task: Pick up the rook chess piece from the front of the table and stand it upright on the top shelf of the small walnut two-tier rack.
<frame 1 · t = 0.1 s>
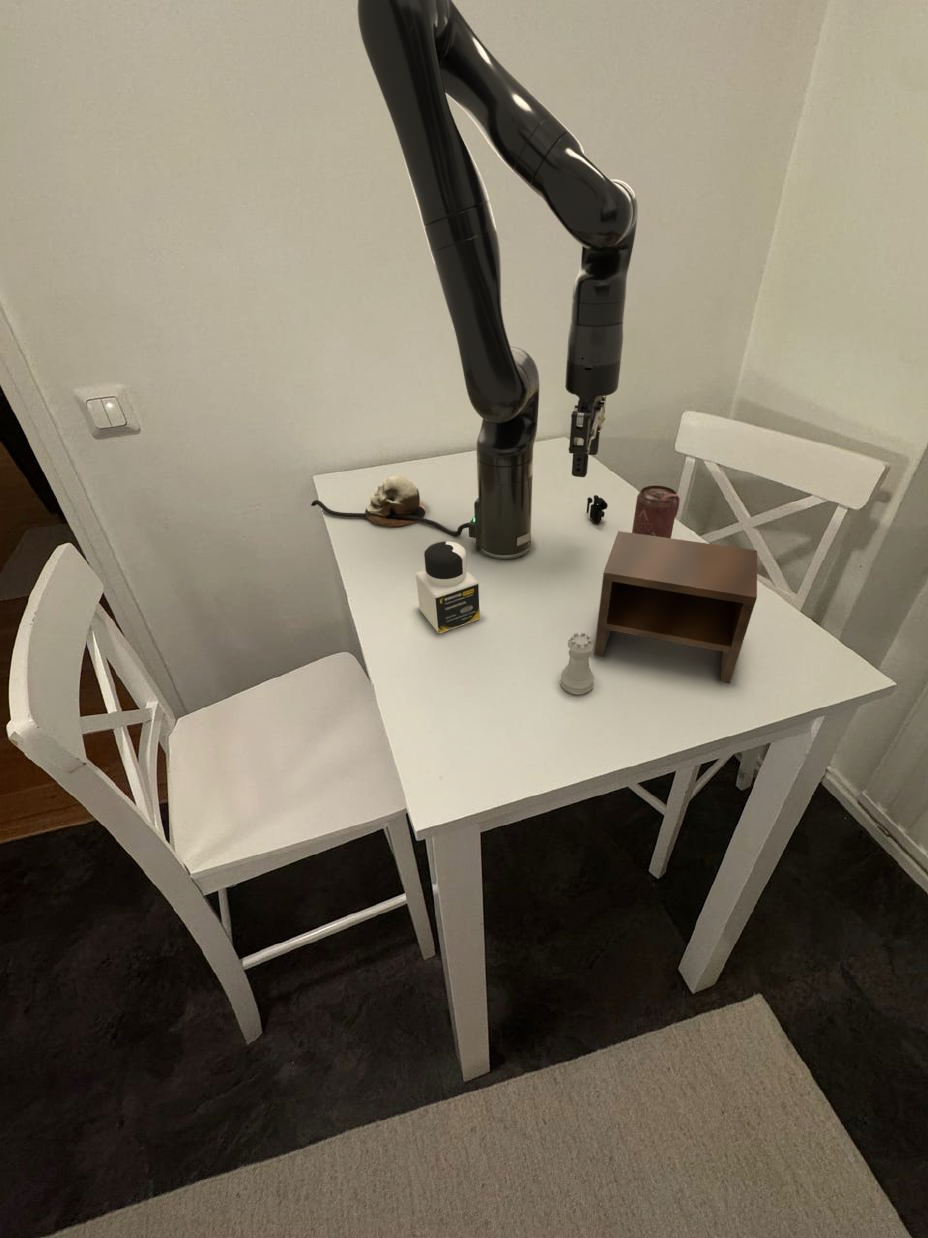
hand: (585, 464, 95), 17 cm above the table, tool pointing down, fingers open, 8 cm apart
wireless earbuds: (597, 521, 115), on the table
skull: (395, 514, 121), on the table
medicine bottle: (449, 616, 94), on the table
shelf: (664, 644, 86), on the table
can: (646, 569, 102), on the table
rook chess piece: (576, 685, 81), on the table
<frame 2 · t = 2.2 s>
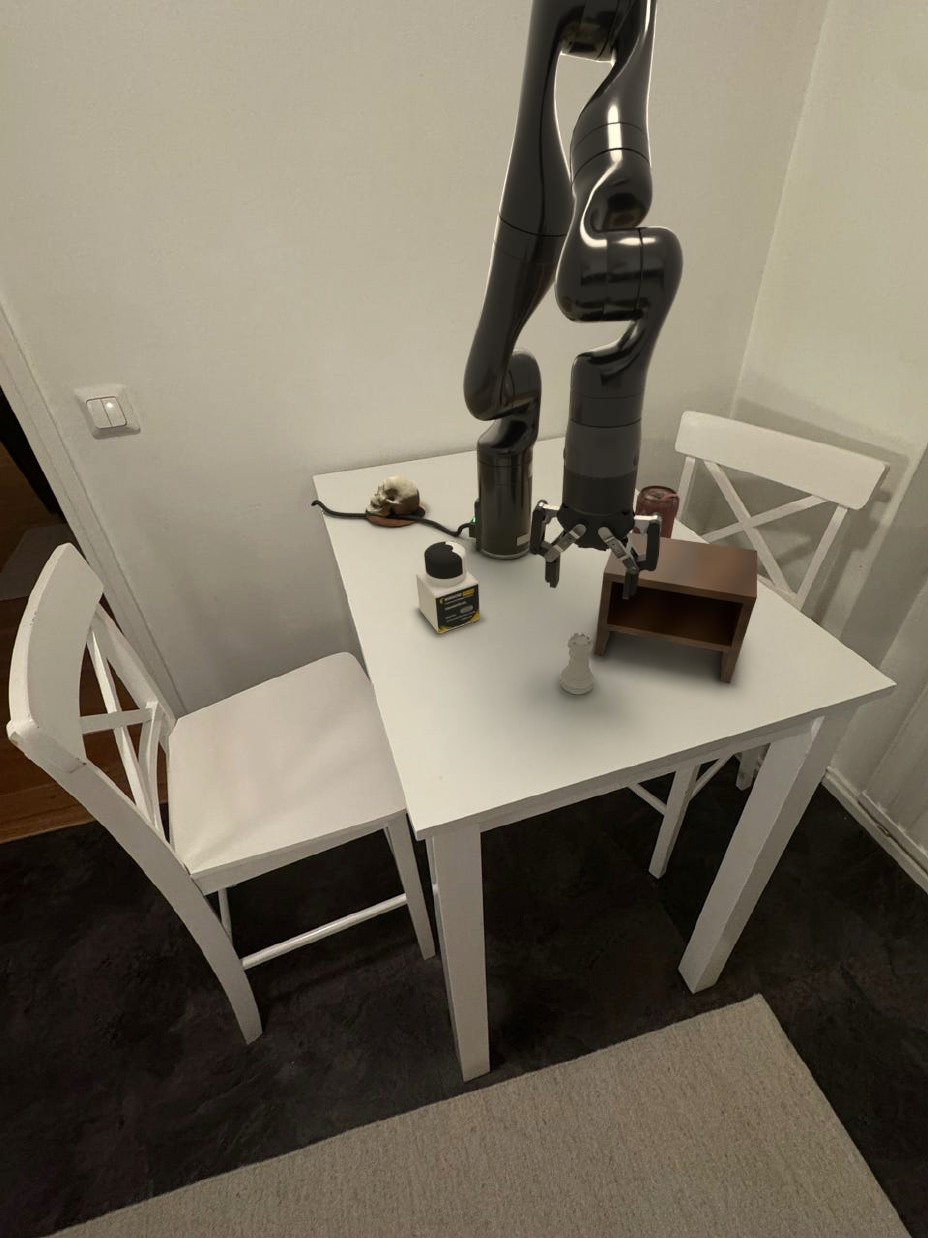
hand: (589, 589, 72), 15 cm above the table, tool pointing down, fingers open, 8 cm apart
nothing on the table moved.
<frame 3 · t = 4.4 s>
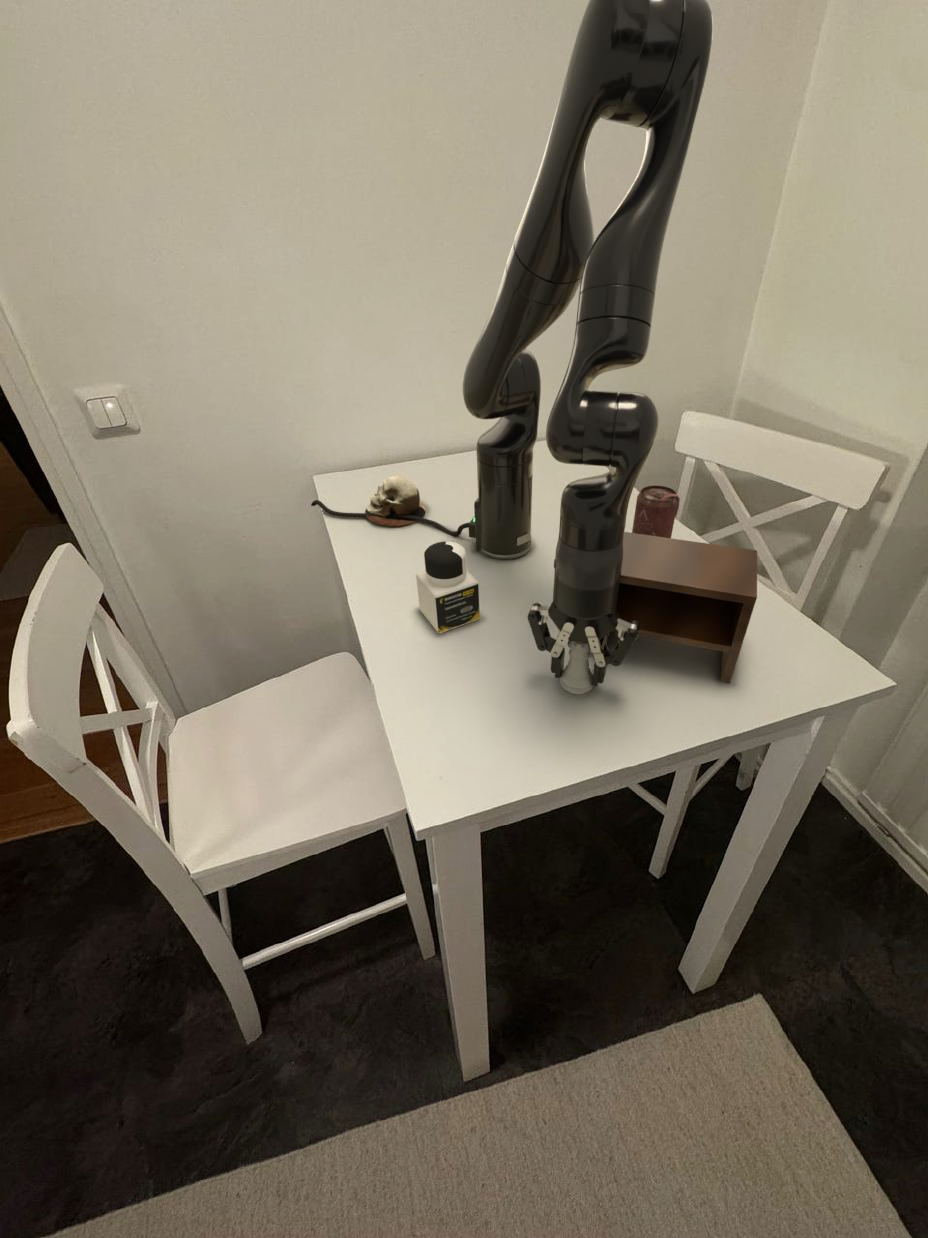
hand: (577, 677, 80), 1 cm above the table, tool pointing down, fingers closed on rook chess piece, 4 cm apart
rook chess piece: (576, 685, 81), on the table, touching gripper
everything else where it was.
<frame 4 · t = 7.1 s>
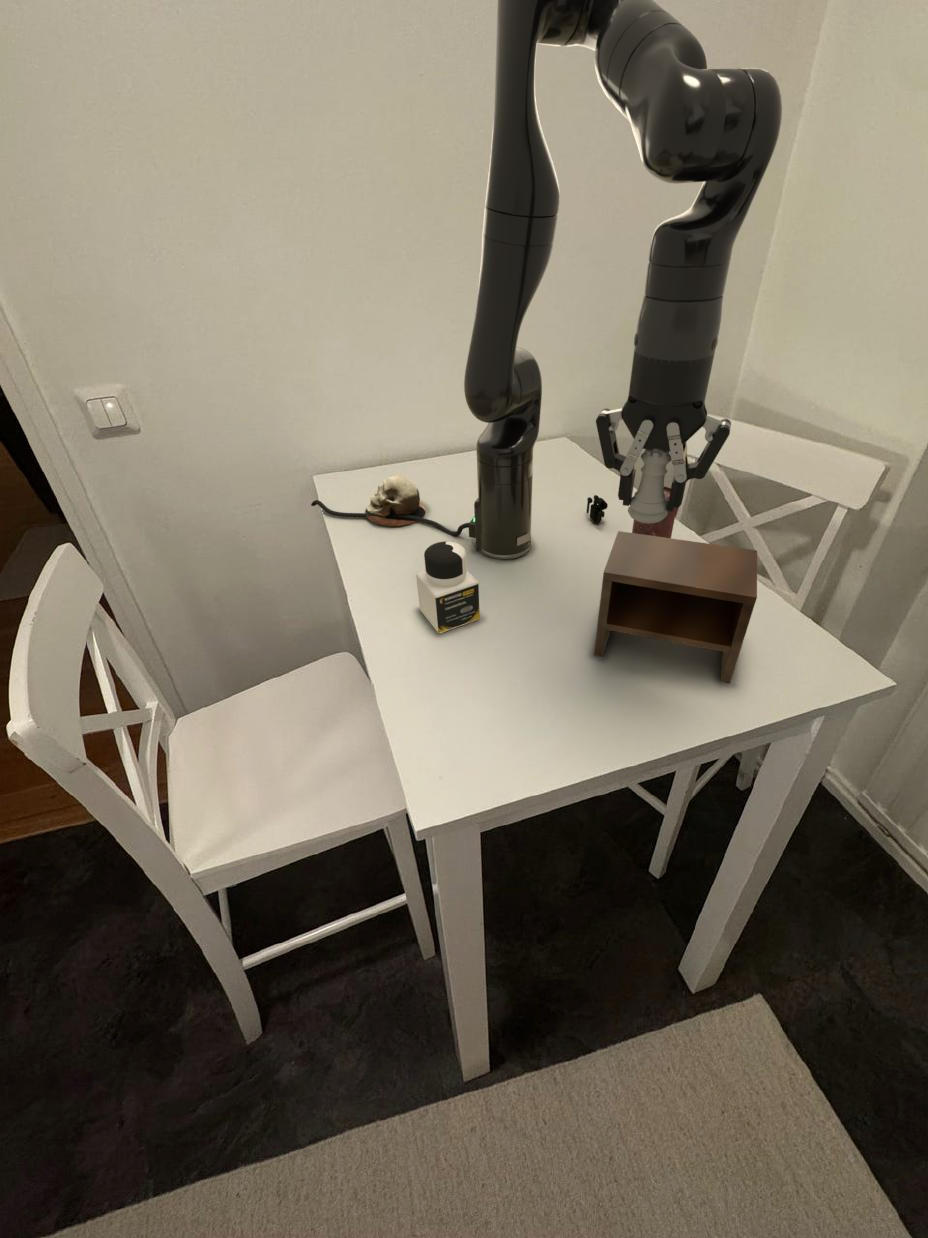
hand: (648, 504, 69), 24 cm above the table, tool pointing down, fingers closed on rook chess piece, 4 cm apart
rook chess piece: (646, 516, 70), point 23 cm above the table, touching gripper
everything else where it was.
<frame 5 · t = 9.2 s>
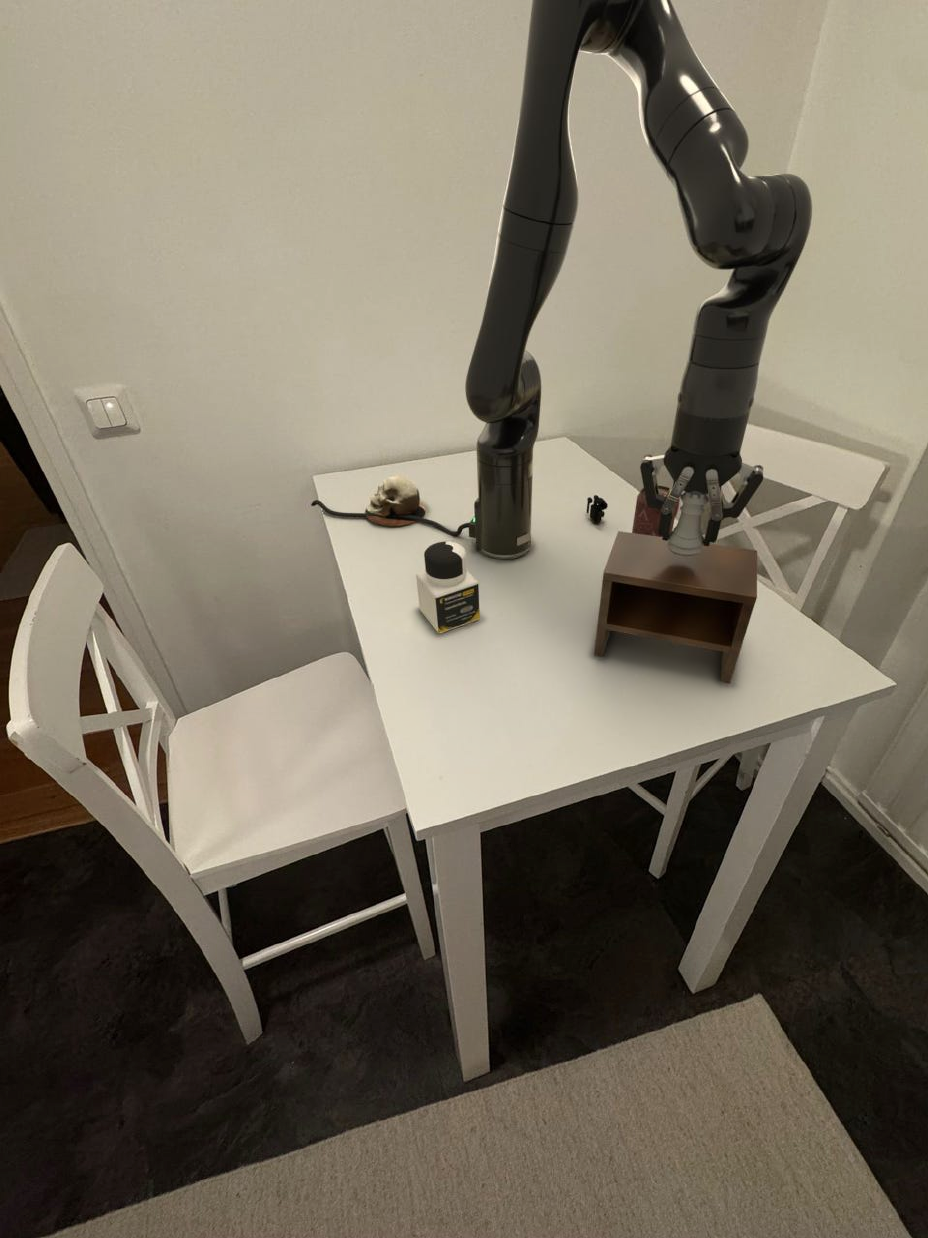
hand: (685, 539, 76), 17 cm above the table, tool pointing down, fingers closed on rook chess piece, 4 cm apart
rook chess piece: (683, 549, 77), point 16 cm above the table, touching gripper
everything else where it was.
when the fingers open (15 cm above the table, at t = 10.2 s): rook chess piece stays where it is, resting on shelf.
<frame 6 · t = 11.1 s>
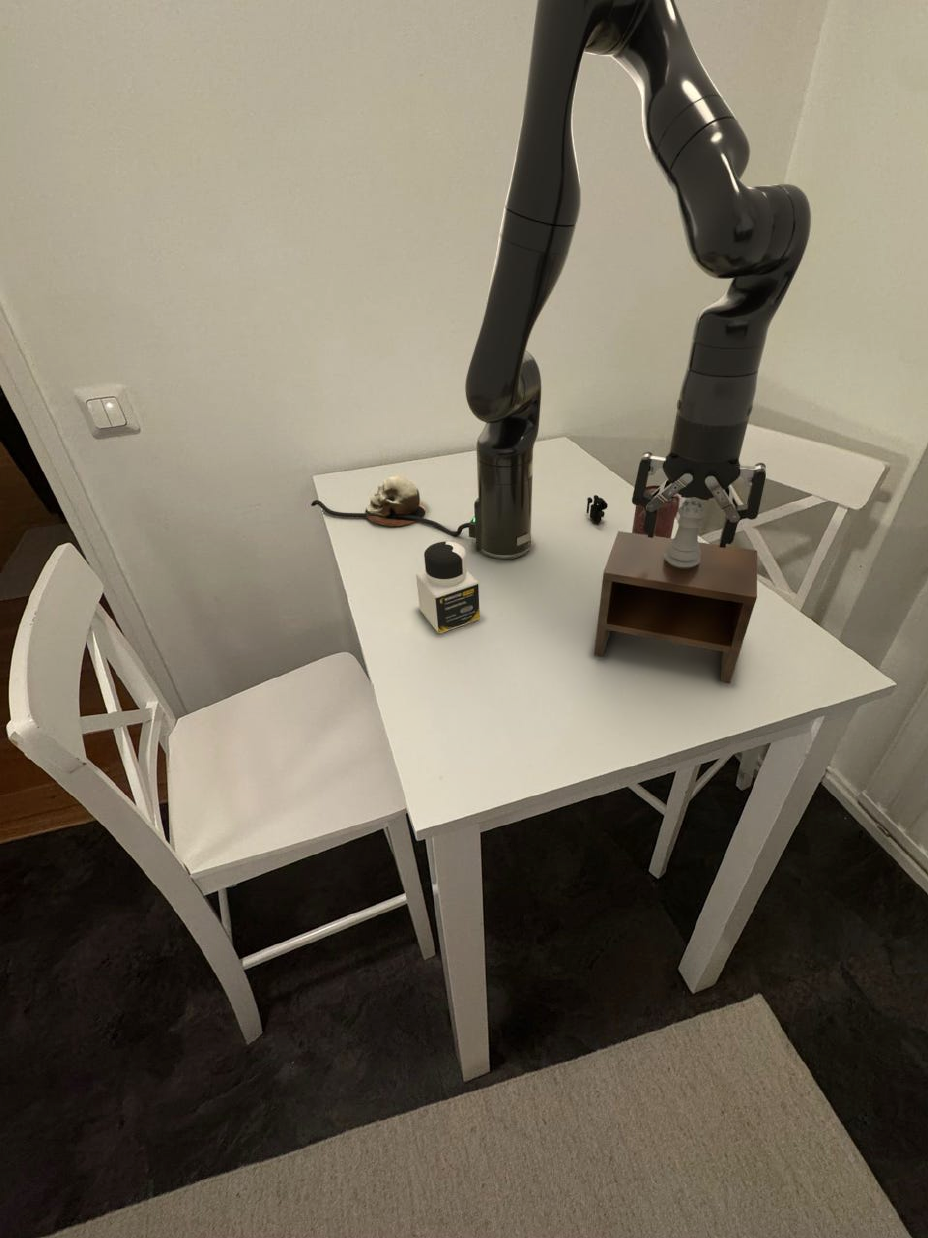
hand: (685, 539, 76), 17 cm above the table, tool pointing down, fingers open, 8 cm apart
rook chess piece: (681, 562, 78), point 14 cm above the table, touching shelf
everything else where it was.
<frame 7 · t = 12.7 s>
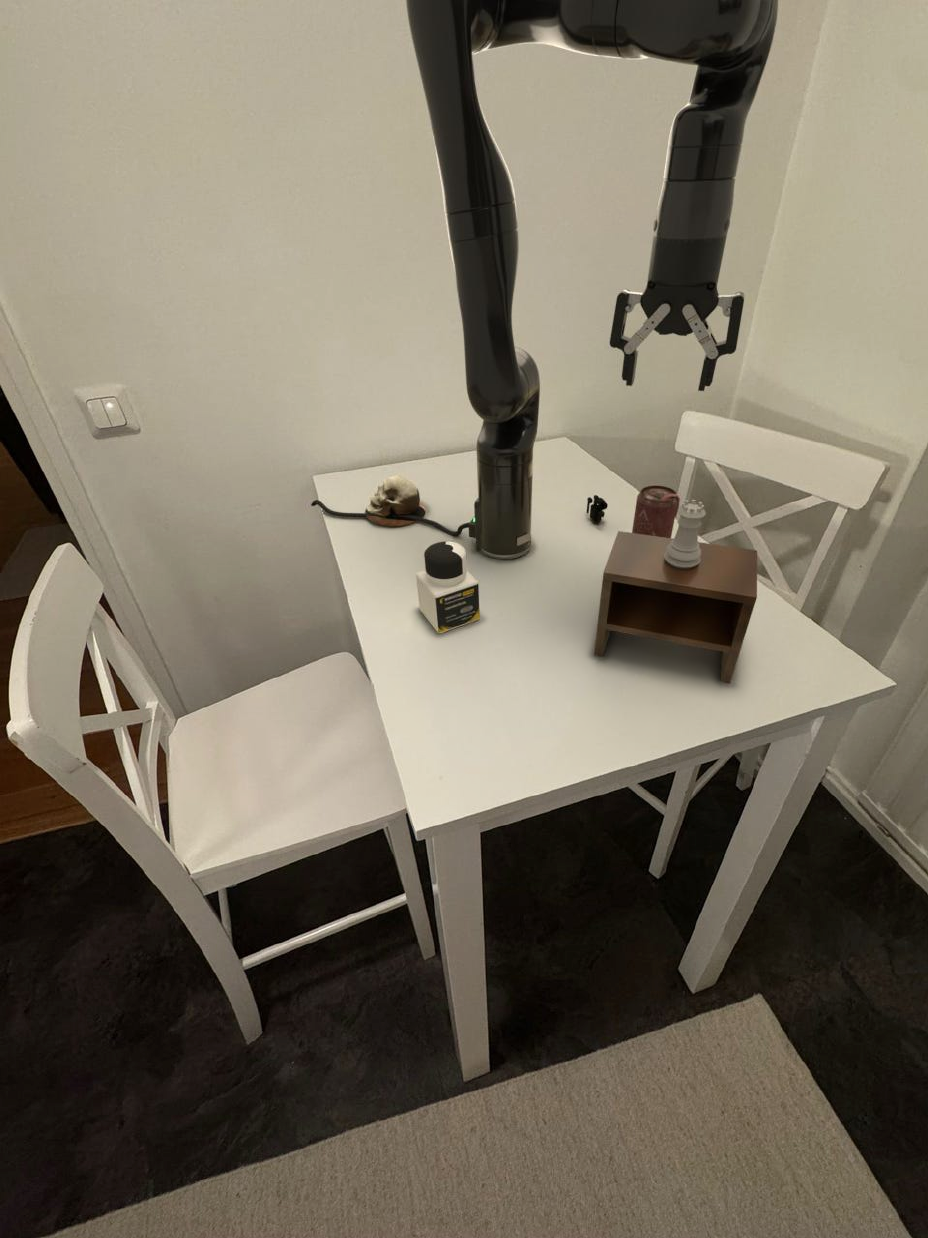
hand: (664, 386, 74), 33 cm above the table, tool pointing down, fingers open, 8 cm apart
nothing on the table moved.
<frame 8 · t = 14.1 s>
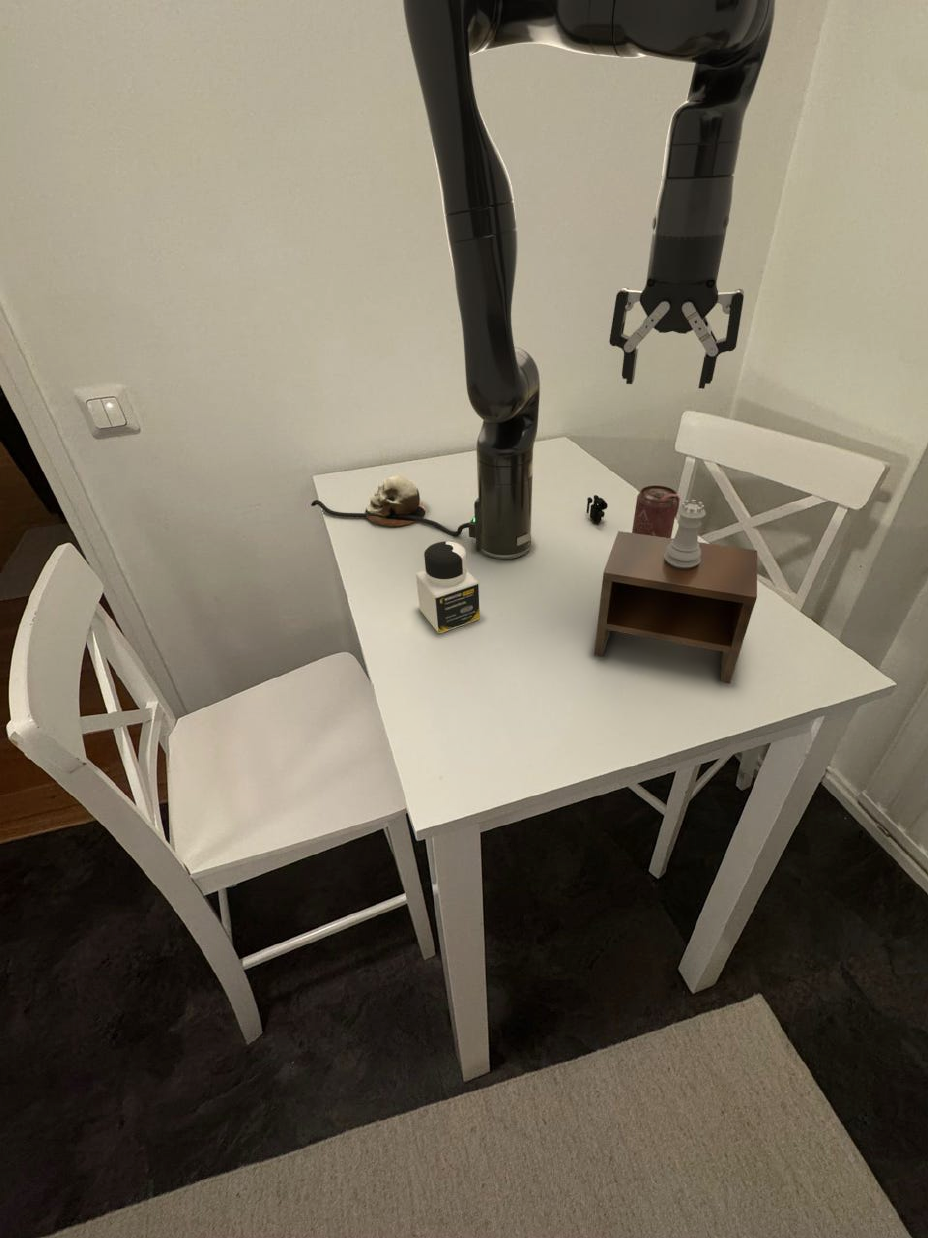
hand: (665, 384, 74), 33 cm above the table, tool pointing down, fingers open, 8 cm apart
nothing on the table moved.
at the end: rook chess piece inside the target area on the shelf (0.1 cm from its centre), point 13.8 cm above the shelf's base; rook chess piece tilted 0°; the gripper is holding nothing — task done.
